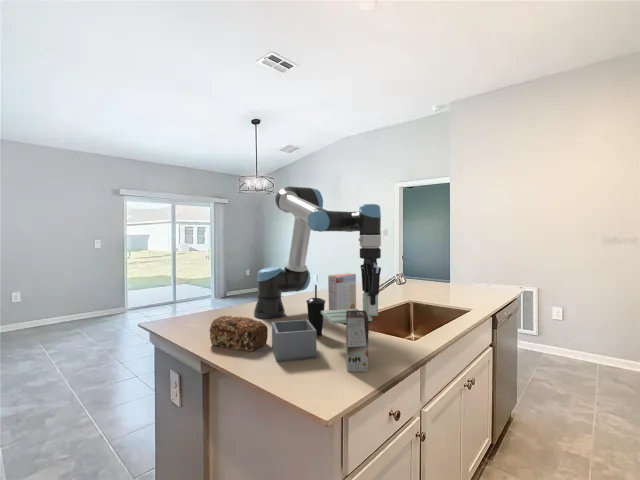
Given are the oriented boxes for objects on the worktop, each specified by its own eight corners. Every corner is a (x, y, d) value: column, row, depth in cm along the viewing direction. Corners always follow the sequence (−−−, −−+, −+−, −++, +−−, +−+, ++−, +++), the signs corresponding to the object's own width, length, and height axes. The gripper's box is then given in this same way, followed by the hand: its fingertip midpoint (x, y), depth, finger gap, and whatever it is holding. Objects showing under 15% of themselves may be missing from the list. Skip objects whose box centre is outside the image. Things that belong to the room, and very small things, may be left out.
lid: (320, 313, 121) (320, 291, 121) (368, 310, 126) (368, 289, 126) (332, 323, 106) (332, 299, 106) (385, 319, 111) (385, 296, 111)
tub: (271, 347, 117) (271, 321, 116) (307, 344, 120) (307, 319, 120) (276, 361, 103) (276, 333, 103) (316, 358, 106) (316, 330, 106)
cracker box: (347, 313, 165) (347, 272, 165) (356, 316, 161) (356, 273, 161) (327, 318, 156) (327, 274, 156) (336, 321, 151) (336, 276, 151)
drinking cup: (323, 338, 126) (323, 286, 126) (304, 337, 128) (304, 286, 127) (327, 332, 134) (327, 283, 133) (308, 331, 135) (308, 283, 135)
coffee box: (369, 372, 95) (369, 317, 95) (347, 372, 96) (347, 317, 95) (365, 360, 104) (365, 310, 104) (345, 359, 105) (345, 310, 104)
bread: (208, 346, 118) (208, 318, 118) (227, 337, 128) (227, 312, 128) (252, 353, 111) (252, 324, 111) (269, 343, 121) (269, 316, 120)
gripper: (353, 247, 124) (353, 309, 124) (368, 248, 109) (368, 318, 110) (371, 246, 126) (371, 307, 126) (389, 247, 111) (389, 317, 111)
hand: (370, 312), depth 118 cm, fingers closed on lid, 2 cm apart
